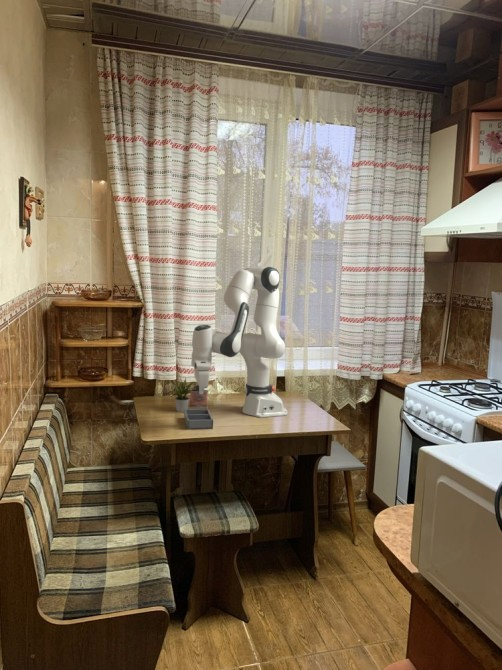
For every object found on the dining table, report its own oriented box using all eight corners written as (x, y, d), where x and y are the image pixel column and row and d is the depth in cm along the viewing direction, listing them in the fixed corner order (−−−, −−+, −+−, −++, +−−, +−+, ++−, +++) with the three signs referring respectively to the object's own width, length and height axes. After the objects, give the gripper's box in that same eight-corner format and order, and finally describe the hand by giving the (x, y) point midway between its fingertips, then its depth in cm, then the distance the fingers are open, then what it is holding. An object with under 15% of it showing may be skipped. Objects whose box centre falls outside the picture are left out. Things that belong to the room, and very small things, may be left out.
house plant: (200, 415, 251) (201, 382, 249) (171, 416, 247) (172, 383, 244) (194, 406, 265) (195, 374, 262) (167, 407, 260) (167, 375, 258)
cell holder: (207, 417, 248) (208, 408, 248) (212, 428, 233) (213, 419, 233) (184, 418, 246) (184, 409, 245) (187, 429, 231) (187, 420, 230)
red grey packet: (190, 407, 231) (191, 386, 230) (188, 405, 235) (189, 384, 233) (207, 407, 234) (209, 385, 232) (206, 405, 237) (207, 383, 235)
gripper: (191, 357, 240) (190, 386, 243) (197, 367, 221) (195, 398, 223) (205, 357, 242) (204, 386, 244) (211, 367, 222) (210, 398, 224)
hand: (200, 392), depth 233 cm, fingers closed on red grey packet, 3 cm apart
